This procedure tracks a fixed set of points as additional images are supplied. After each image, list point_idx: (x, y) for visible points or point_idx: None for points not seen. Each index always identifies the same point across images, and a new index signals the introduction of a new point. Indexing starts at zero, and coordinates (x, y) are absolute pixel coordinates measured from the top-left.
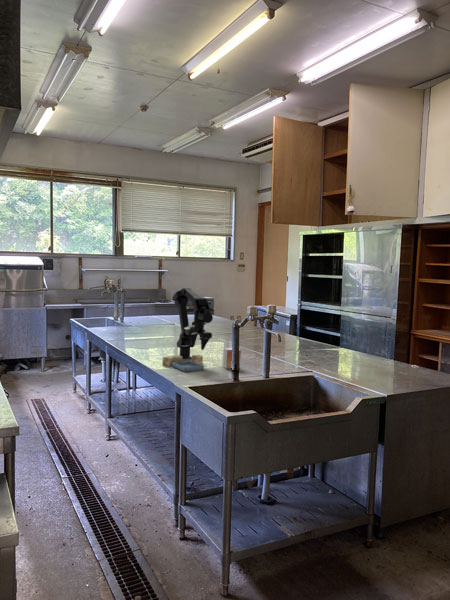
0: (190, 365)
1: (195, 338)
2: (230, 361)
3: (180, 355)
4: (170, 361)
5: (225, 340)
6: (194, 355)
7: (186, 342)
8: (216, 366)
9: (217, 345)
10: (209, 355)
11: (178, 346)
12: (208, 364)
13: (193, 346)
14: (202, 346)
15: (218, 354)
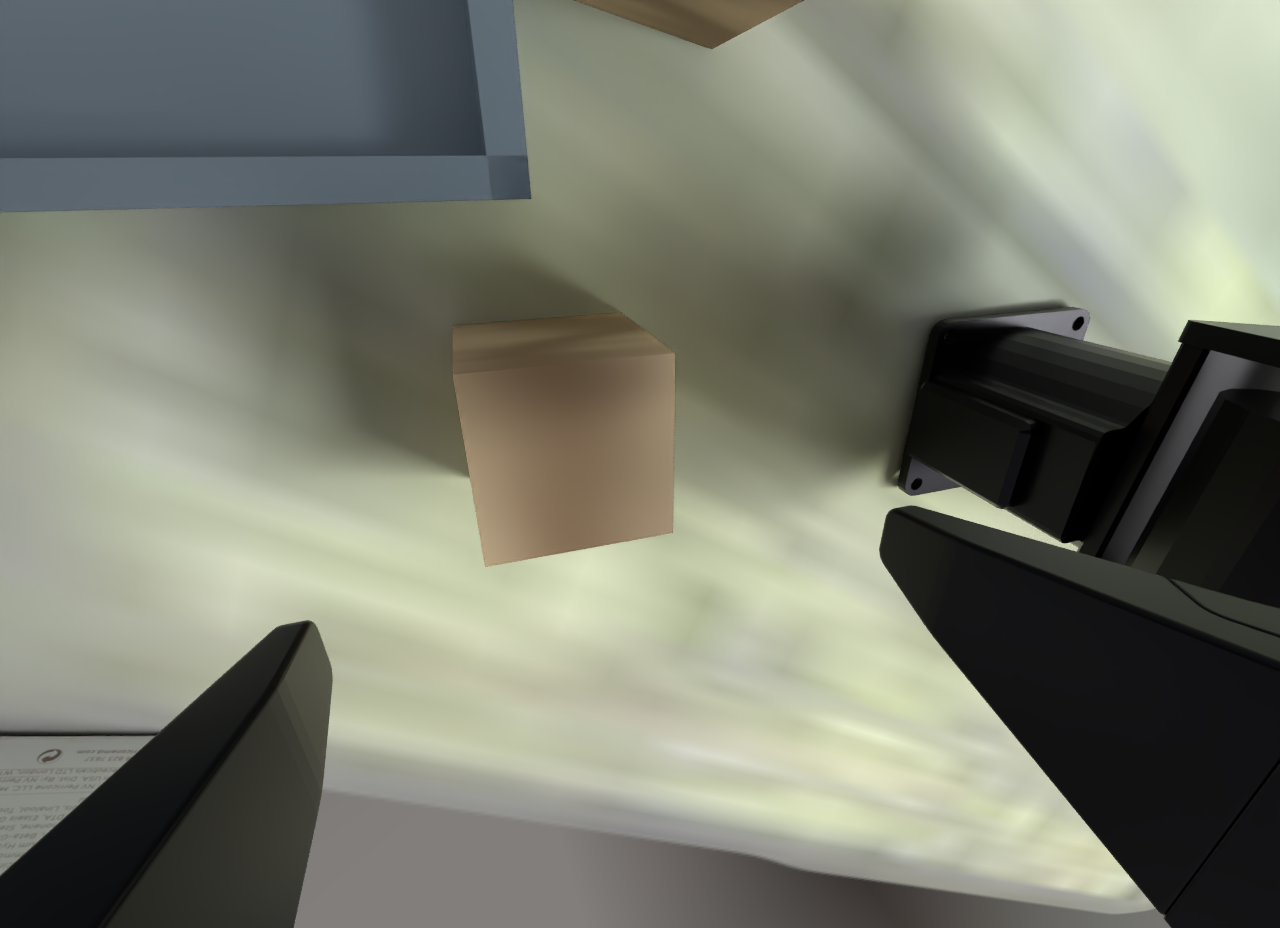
0: (277, 81)
1: (1142, 838)
2: None
3: (1039, 332)
4: None
5: (1136, 909)
6: (632, 413)
7: (1245, 497)
8: (216, 638)
9: (1091, 852)
10: (883, 726)
11: (1274, 328)
12: (418, 564)
13: (884, 544)
14: (154, 772)
15: (866, 810)
